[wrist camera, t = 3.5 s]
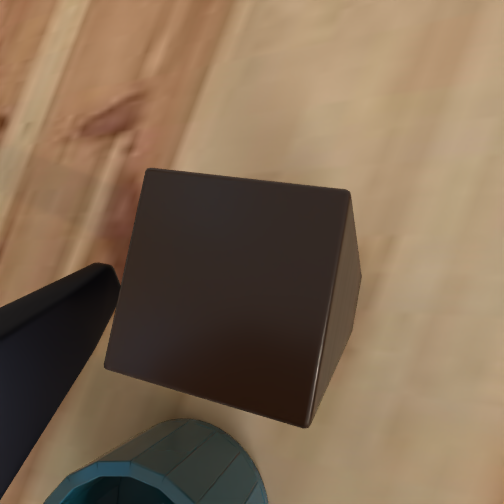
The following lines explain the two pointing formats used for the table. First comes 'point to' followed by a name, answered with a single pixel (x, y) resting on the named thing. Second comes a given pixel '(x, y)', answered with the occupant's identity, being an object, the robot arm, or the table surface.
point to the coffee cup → (167, 470)
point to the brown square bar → (238, 291)
